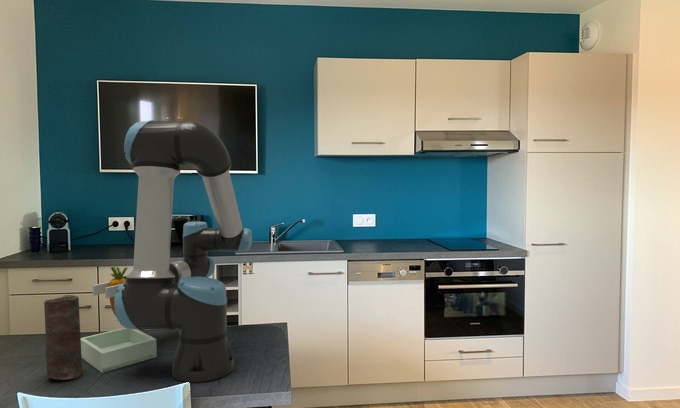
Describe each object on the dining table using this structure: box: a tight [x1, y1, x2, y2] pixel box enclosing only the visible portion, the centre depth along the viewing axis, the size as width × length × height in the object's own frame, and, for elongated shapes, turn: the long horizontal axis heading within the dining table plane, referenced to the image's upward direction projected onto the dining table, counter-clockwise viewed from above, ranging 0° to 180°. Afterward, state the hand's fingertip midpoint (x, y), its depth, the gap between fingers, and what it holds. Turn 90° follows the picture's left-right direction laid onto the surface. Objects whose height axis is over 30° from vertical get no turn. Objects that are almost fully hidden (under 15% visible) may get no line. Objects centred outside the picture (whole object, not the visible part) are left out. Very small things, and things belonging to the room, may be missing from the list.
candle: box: [43, 294, 83, 381], centre depth 108 cm, size 8×7×20 cm
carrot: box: [108, 265, 128, 319], centre depth 122 cm, size 5×5×15 cm
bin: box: [81, 327, 158, 374], centre depth 121 cm, size 16×14×5 cm
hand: (99, 291), depth 117 cm, fingers closed on carrot, 5 cm apart
